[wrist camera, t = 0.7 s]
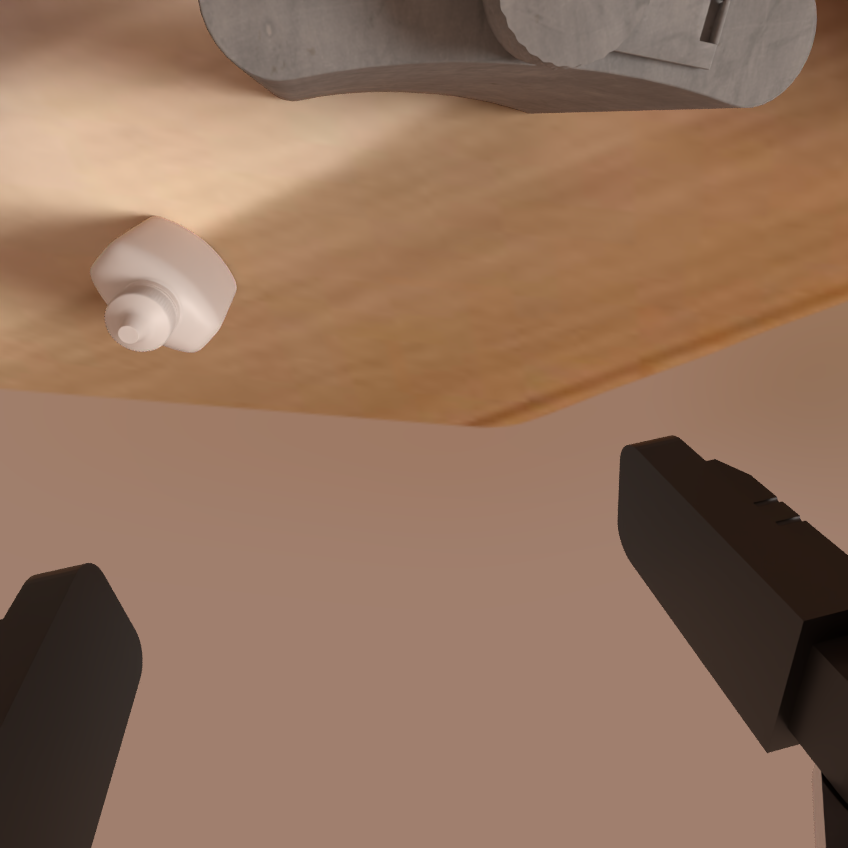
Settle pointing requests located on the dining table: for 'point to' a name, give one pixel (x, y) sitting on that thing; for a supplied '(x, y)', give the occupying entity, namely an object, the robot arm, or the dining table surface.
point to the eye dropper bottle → (162, 287)
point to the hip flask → (523, 50)
